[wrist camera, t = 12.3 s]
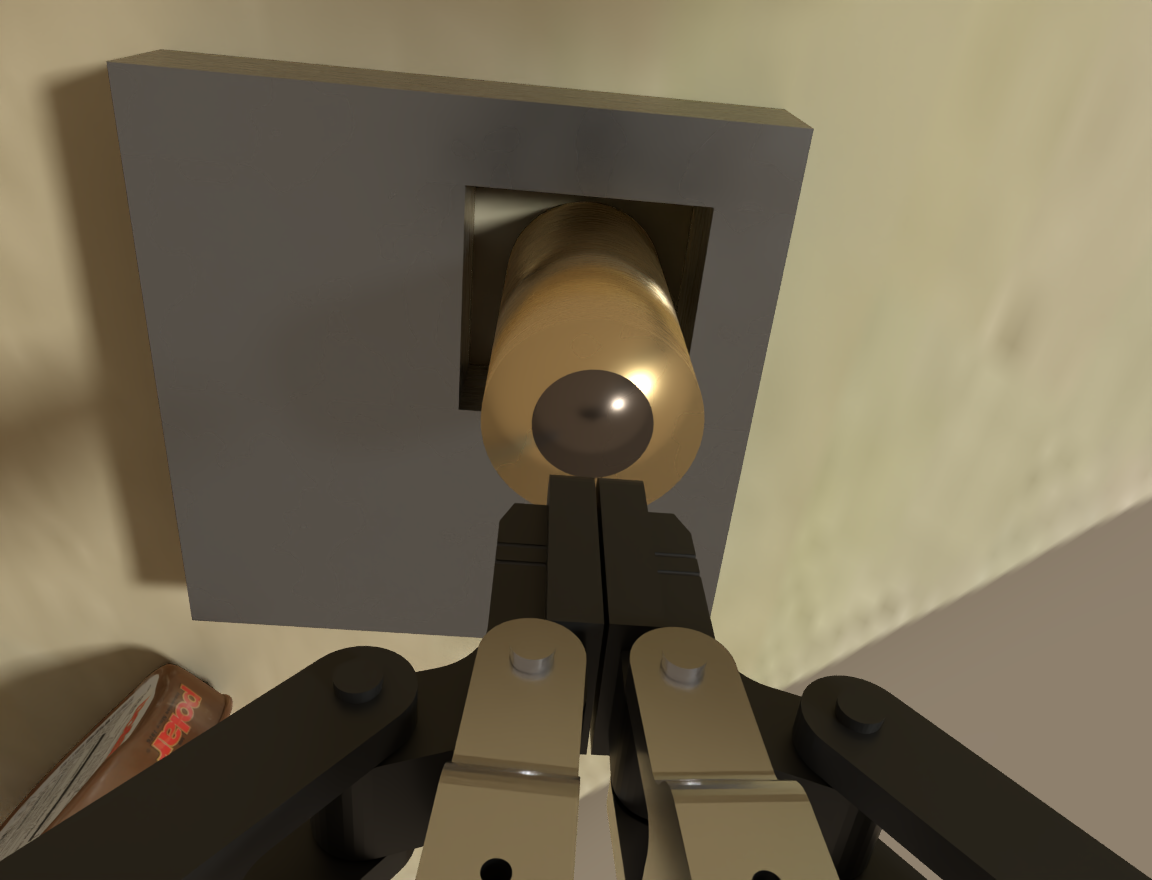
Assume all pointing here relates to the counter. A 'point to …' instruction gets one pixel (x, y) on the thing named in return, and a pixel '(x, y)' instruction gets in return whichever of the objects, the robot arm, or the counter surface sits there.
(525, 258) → the golden brown cylinder
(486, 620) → the jig
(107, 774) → the tin
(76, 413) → the counter surface
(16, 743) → the counter surface
